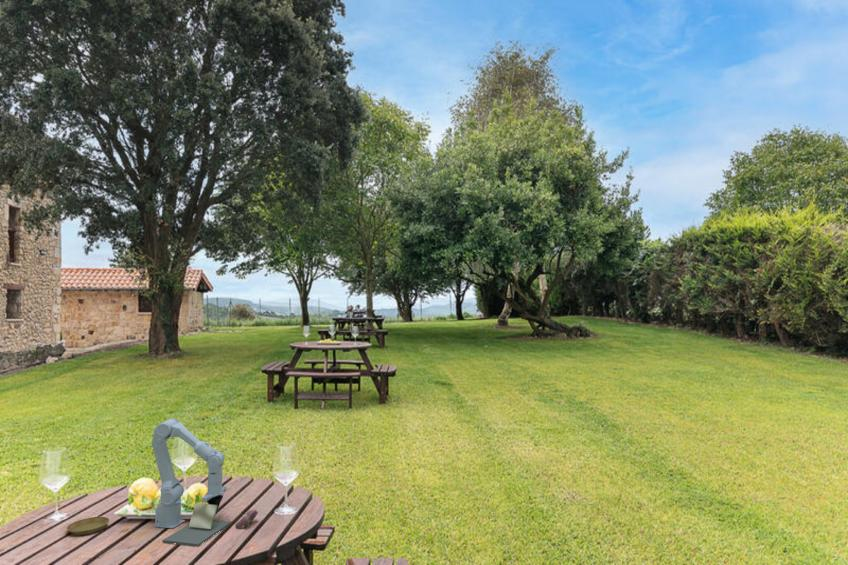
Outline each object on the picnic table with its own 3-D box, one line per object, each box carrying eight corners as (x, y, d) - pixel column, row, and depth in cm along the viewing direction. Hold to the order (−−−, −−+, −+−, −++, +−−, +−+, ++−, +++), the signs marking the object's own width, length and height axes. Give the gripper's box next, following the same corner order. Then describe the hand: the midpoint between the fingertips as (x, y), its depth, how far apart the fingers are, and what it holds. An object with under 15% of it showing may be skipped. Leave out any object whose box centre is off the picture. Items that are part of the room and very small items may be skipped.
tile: (211, 529, 205) (210, 528, 204) (190, 526, 207) (188, 526, 206) (217, 505, 210) (216, 505, 209) (197, 503, 212) (195, 503, 211)
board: (162, 542, 196) (162, 540, 196) (198, 520, 217) (198, 518, 217) (198, 546, 192) (198, 544, 192) (231, 523, 214) (231, 521, 214)
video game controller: (242, 533, 208) (249, 518, 208) (233, 527, 209) (240, 512, 209) (254, 523, 218) (261, 509, 218) (246, 518, 219) (253, 504, 219)
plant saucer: (71, 541, 197) (72, 534, 197) (62, 530, 207) (62, 523, 207) (113, 529, 208) (114, 523, 208) (103, 520, 218) (103, 513, 218)
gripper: (212, 487, 208) (211, 521, 207) (232, 477, 222) (231, 508, 221) (197, 486, 209) (196, 519, 208) (218, 475, 223) (217, 507, 223)
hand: (213, 513), depth 215 cm, fingers closed
